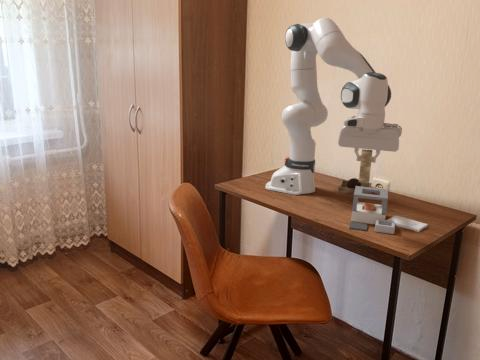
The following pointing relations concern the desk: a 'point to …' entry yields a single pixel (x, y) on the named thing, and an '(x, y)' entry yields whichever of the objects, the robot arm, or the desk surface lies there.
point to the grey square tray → (384, 226)
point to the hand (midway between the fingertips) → (365, 161)
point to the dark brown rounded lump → (353, 183)
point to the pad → (358, 226)
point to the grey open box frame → (358, 207)
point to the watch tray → (351, 190)
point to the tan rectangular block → (365, 166)
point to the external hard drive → (408, 223)
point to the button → (369, 206)
